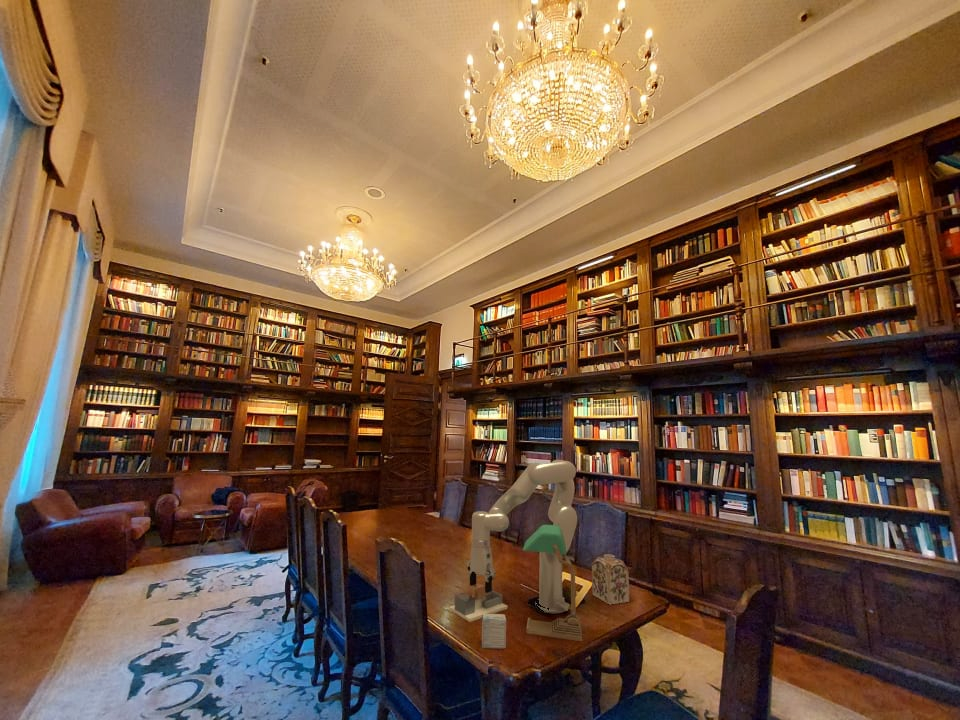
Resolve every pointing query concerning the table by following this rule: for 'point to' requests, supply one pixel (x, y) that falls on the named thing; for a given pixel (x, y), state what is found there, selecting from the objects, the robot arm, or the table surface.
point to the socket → (464, 604)
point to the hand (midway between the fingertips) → (480, 588)
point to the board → (485, 607)
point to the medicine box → (493, 631)
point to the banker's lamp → (570, 628)
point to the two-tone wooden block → (479, 595)
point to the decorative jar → (610, 580)
